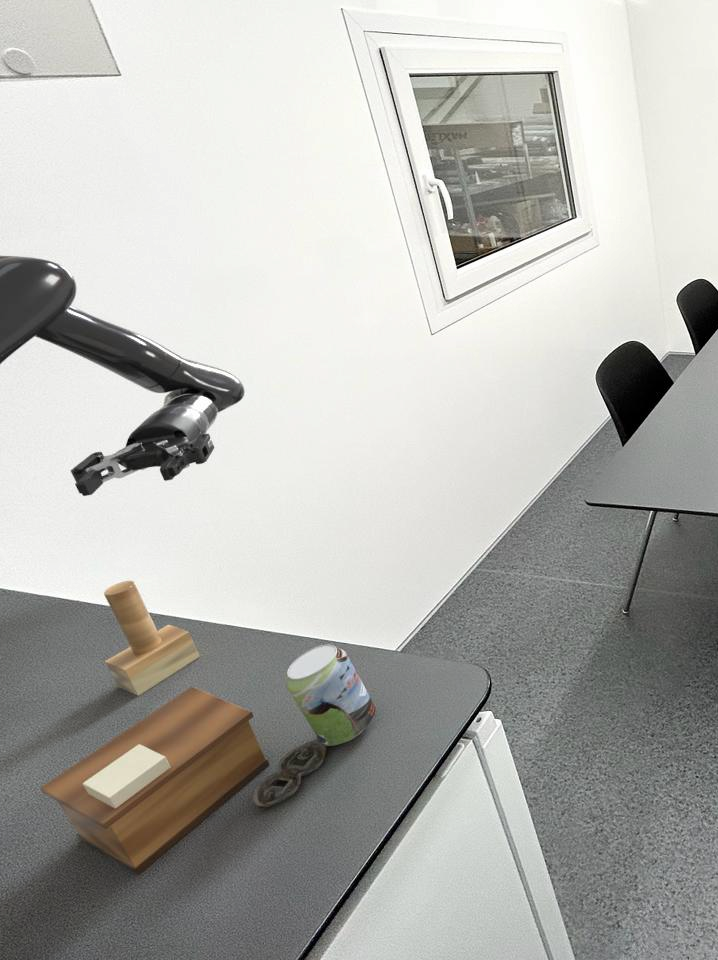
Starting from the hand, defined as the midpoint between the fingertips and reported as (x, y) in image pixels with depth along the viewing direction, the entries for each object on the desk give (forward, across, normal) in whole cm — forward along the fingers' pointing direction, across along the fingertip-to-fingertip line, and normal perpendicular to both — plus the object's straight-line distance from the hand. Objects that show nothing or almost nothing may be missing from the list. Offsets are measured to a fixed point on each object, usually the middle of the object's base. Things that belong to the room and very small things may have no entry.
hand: (125, 482), depth 87 cm
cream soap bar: (+40, +9, +16) cm, 44 cm away
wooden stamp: (+11, 0, +25) cm, 27 cm away
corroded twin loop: (+38, +20, +24) cm, 50 cm away
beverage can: (+34, +25, +24) cm, 49 cm away
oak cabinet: (+36, +10, +24) cm, 44 cm away
